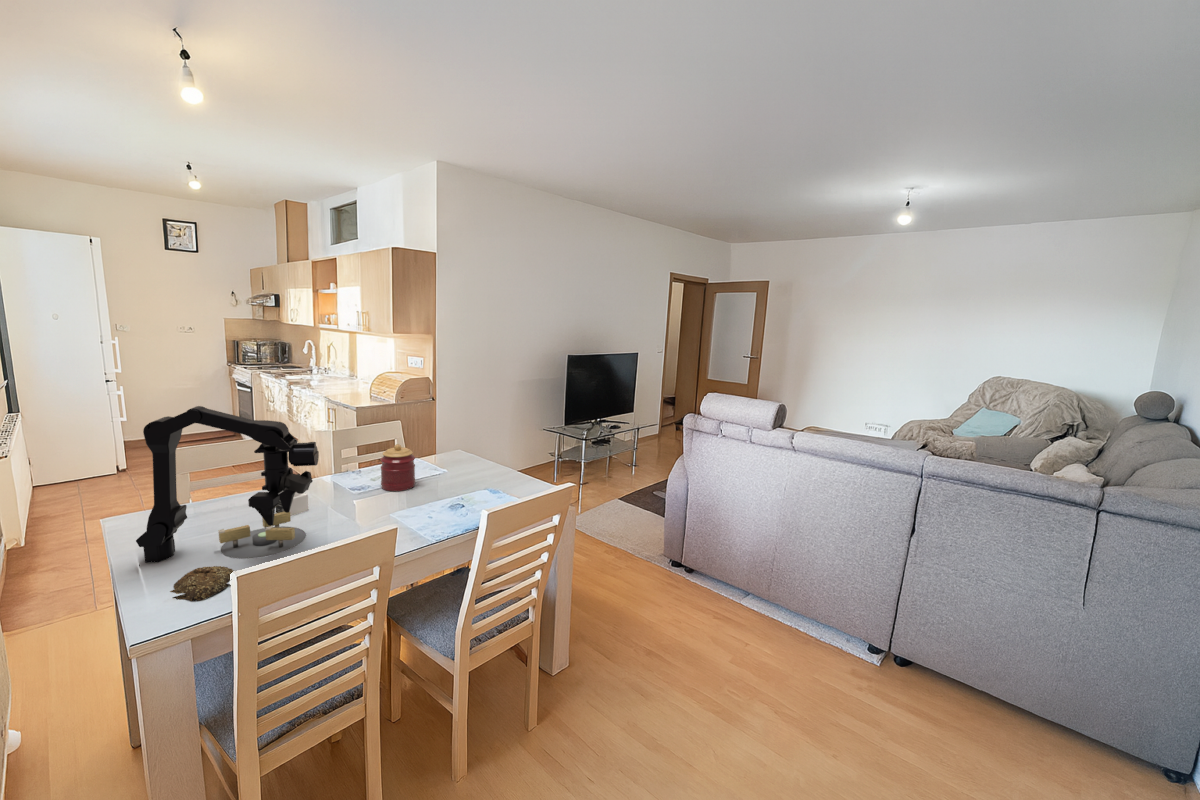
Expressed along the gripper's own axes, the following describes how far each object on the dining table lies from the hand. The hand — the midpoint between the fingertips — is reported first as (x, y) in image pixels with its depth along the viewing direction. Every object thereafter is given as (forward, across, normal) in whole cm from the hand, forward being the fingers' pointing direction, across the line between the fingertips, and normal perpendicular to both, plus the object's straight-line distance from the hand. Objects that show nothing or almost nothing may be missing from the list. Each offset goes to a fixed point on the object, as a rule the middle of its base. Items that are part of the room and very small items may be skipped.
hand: (279, 518), depth 141 cm
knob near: (+9, 0, 0) cm, 9 cm away
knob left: (+9, 0, +12) cm, 15 cm away
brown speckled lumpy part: (+10, -19, +9) cm, 24 cm away
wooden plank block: (+9, +10, +6) cm, 15 cm away
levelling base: (+10, +4, +6) cm, 12 cm away
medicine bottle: (+10, +26, +9) cm, 30 cm away
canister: (+10, +55, -18) cm, 59 cm away
